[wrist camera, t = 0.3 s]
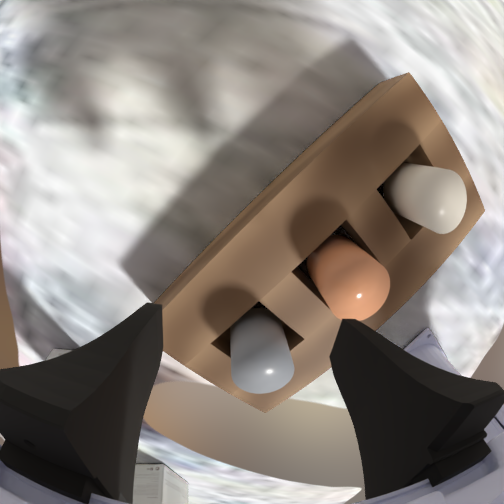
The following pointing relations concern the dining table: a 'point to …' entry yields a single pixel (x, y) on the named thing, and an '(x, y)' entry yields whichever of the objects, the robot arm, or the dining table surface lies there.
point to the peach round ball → (348, 278)
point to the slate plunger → (260, 352)
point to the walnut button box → (317, 240)
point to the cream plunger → (427, 196)
